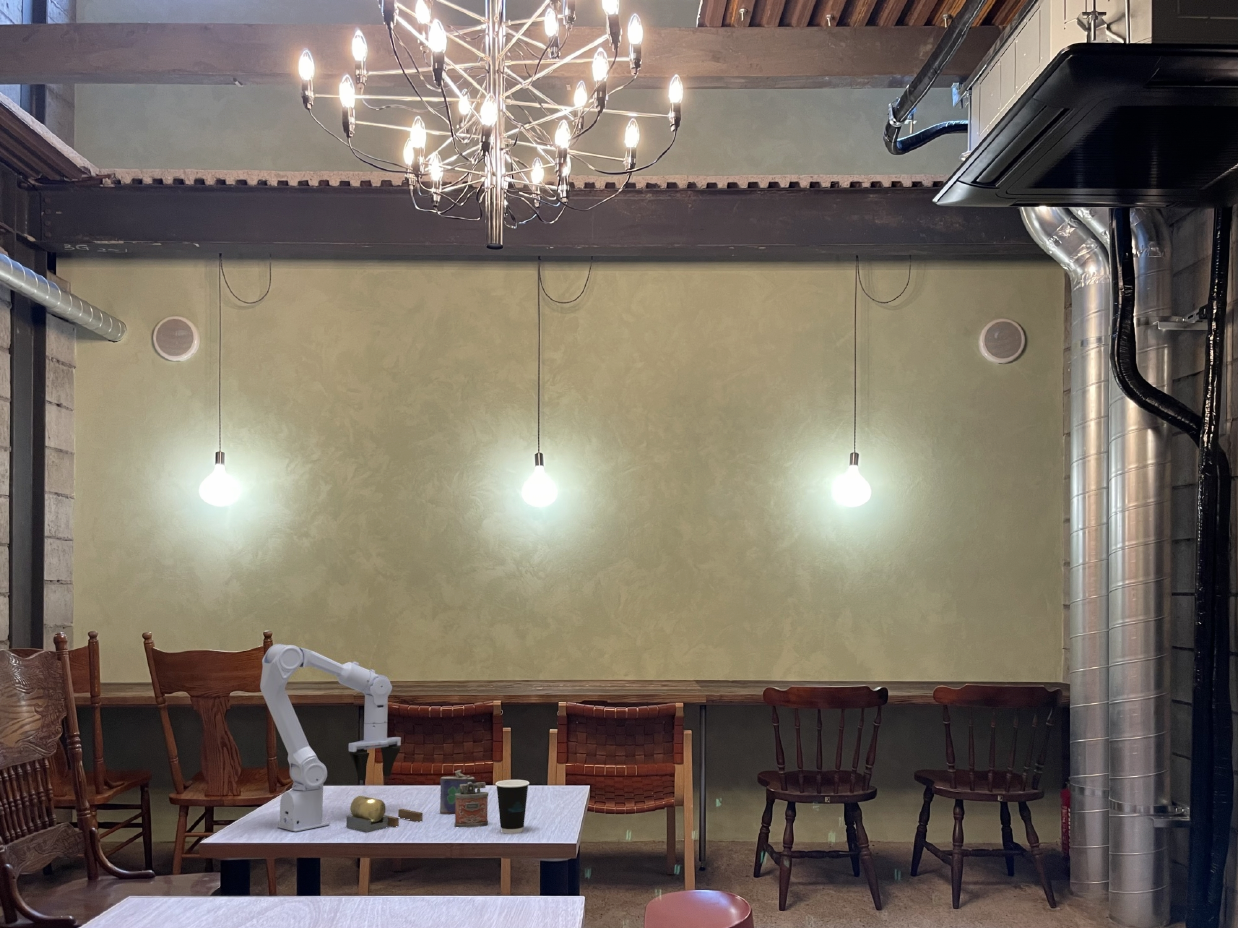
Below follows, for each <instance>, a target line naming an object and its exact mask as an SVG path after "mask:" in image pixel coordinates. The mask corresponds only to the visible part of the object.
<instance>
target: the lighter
mask: <svg viewBox="0 0 1238 928" xmlns="http://www.w3.org/2000/svg"><path fill="white" fill-rule="evenodd" d="M486 787H487V786H486V782H485V781H483V782H475V784H472V782H468V783H467V784H461V785H460V792H461V793H457V794H455V798H456V802H455V817H454V828H456V827H467V828H478V826H480V827H487V826H489V820H488V812H489V811H488V806H489V805H488V803H489V801H488V799H489V798H488V797H489V791H481V789H486ZM464 789H466V790H465V793H464ZM474 789H475V790H474ZM476 789H477V790H476Z"/></svg>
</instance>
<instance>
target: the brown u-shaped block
mask: <svg viewBox="0 0 1238 928" xmlns="http://www.w3.org/2000/svg"><path fill="white" fill-rule="evenodd" d="M397 811H398V812H397V816H393V815H388V814H384V815H385V816H388V827H390V826H393V827H392V828H397V827H396V826H399V825H400V824H399V822H400V819H402V818H405V819H404V820H406V819H410V820H409V821H411V820H412V821H411V822H416V821H418V822H417V823H421V822H420V821H422V822H423V816H424V815H423V814H424V813H423V812H422V811H421V812H419V811H415V810H410V809H406V808H399V809H398V810H397ZM398 817H400V818H398Z"/></svg>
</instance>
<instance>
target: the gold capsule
mask: <svg viewBox="0 0 1238 928" xmlns="http://www.w3.org/2000/svg"><path fill="white" fill-rule="evenodd" d="M350 803H351V804H350V810H349V811H350V815H353V816H357V817H362V818H366V819H371V821H374V822H377V821H379V820H381V819H382V818H383V816H384V815H386V814H385V813H386V809H387V808H386V807H387V806H386V804H385V802H384V800H382V799H378V798H373V797H369V796H365V795H358V796H356V797H354V799H353V800H352V801H351V802H350Z"/></svg>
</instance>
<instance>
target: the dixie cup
mask: <svg viewBox="0 0 1238 928" xmlns="http://www.w3.org/2000/svg"><path fill="white" fill-rule="evenodd" d="M529 785H530V782H529V781H528V780H524V779H506V780H498V781H497V782H495V786H496V793H497V802H498V812H499V814H498V815H499V823H500V825H499V826H500V828H501V833H503V834H511V835H512V834H520V833H522V832H523V830H524V829H523V828H524V826H525V819H526V808H527V800H528V791H529V790H528V788H529Z"/></svg>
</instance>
